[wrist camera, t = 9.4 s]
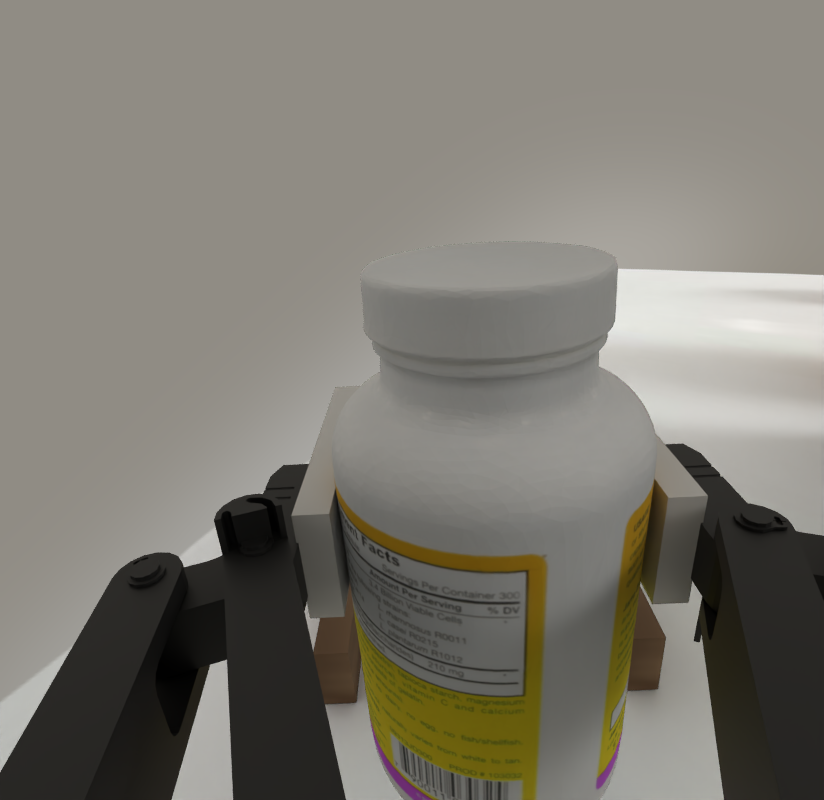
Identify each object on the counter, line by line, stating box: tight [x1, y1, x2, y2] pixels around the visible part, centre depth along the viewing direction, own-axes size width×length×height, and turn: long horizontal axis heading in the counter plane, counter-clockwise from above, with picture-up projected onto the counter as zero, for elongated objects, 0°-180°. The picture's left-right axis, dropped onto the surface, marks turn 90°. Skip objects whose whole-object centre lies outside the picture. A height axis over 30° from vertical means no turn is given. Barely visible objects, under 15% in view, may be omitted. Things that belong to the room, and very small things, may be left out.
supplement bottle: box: [332, 241, 657, 800], centre depth 13 cm, size 7×7×13 cm
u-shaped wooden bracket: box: [313, 585, 666, 704], centre depth 23 cm, size 12×11×7 cm
